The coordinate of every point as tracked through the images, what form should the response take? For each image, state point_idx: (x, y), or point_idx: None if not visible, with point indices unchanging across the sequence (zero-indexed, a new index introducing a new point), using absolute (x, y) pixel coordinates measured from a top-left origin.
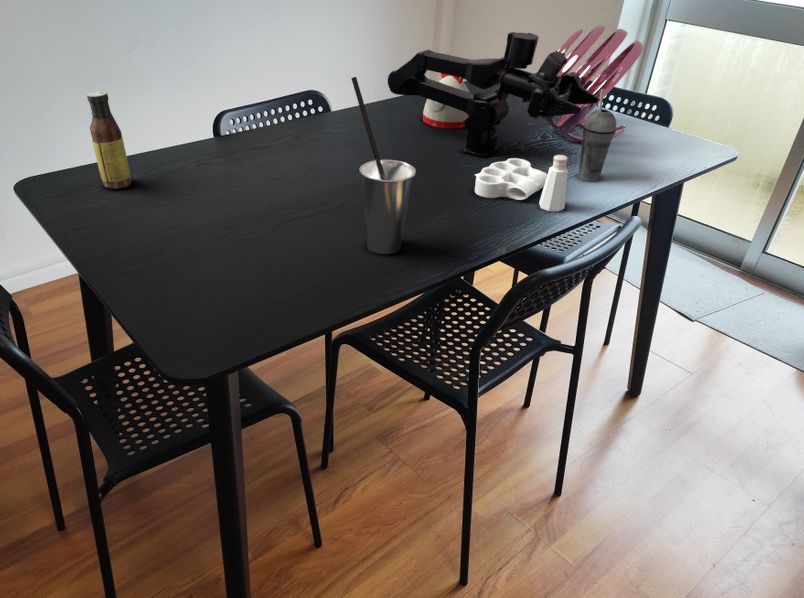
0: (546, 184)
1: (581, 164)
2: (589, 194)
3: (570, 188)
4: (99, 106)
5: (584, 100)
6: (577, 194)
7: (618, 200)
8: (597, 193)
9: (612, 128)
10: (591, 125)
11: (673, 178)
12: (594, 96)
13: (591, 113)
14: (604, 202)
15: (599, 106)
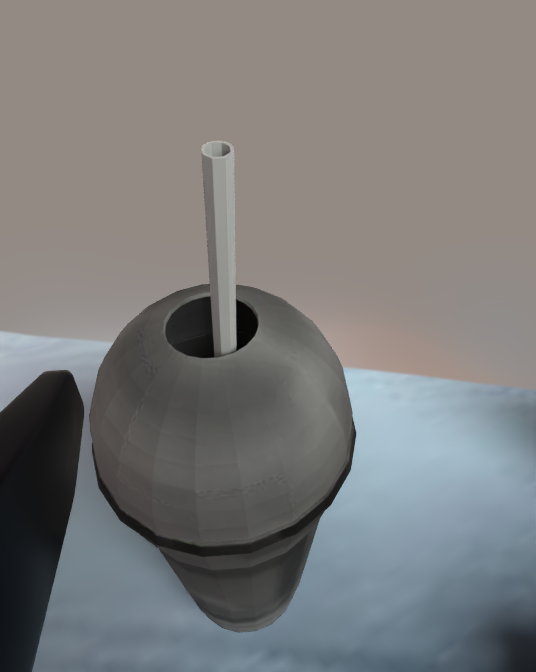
0: None
1: (296, 582)
2: (419, 476)
3: (441, 573)
4: None
5: (29, 583)
6: (467, 512)
7: (371, 382)
8: (381, 458)
9: (254, 318)
10: (347, 411)
11: (38, 342)
12: (42, 402)
13: (262, 419)
14: (432, 405)
15: (232, 320)
